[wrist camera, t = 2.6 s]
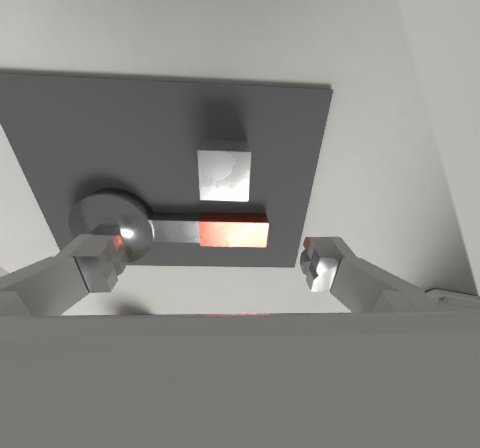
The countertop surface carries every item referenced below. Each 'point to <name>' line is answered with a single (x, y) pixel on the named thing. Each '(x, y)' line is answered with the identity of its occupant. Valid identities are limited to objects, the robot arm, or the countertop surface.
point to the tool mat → (167, 153)
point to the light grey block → (224, 169)
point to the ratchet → (162, 224)
